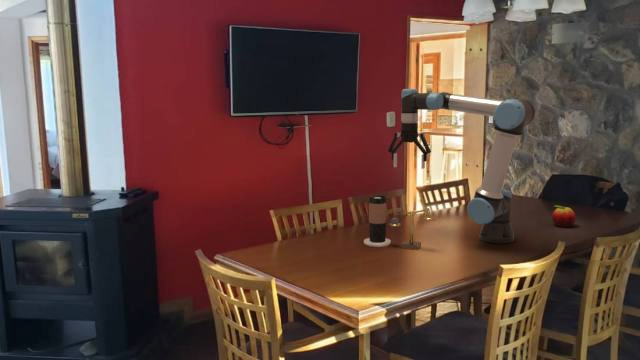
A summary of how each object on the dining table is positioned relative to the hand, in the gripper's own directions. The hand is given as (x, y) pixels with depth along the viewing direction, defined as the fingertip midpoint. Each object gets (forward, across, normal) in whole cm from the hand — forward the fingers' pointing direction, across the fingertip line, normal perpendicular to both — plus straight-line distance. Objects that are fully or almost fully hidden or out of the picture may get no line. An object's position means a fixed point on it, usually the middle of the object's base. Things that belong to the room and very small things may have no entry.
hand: (409, 167), depth 267 cm
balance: (+32, -9, +23) cm, 40 cm away
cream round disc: (+32, +7, +23) cm, 40 cm away
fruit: (+32, -65, -44) cm, 85 cm away
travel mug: (+31, +7, +23) cm, 39 cm away
